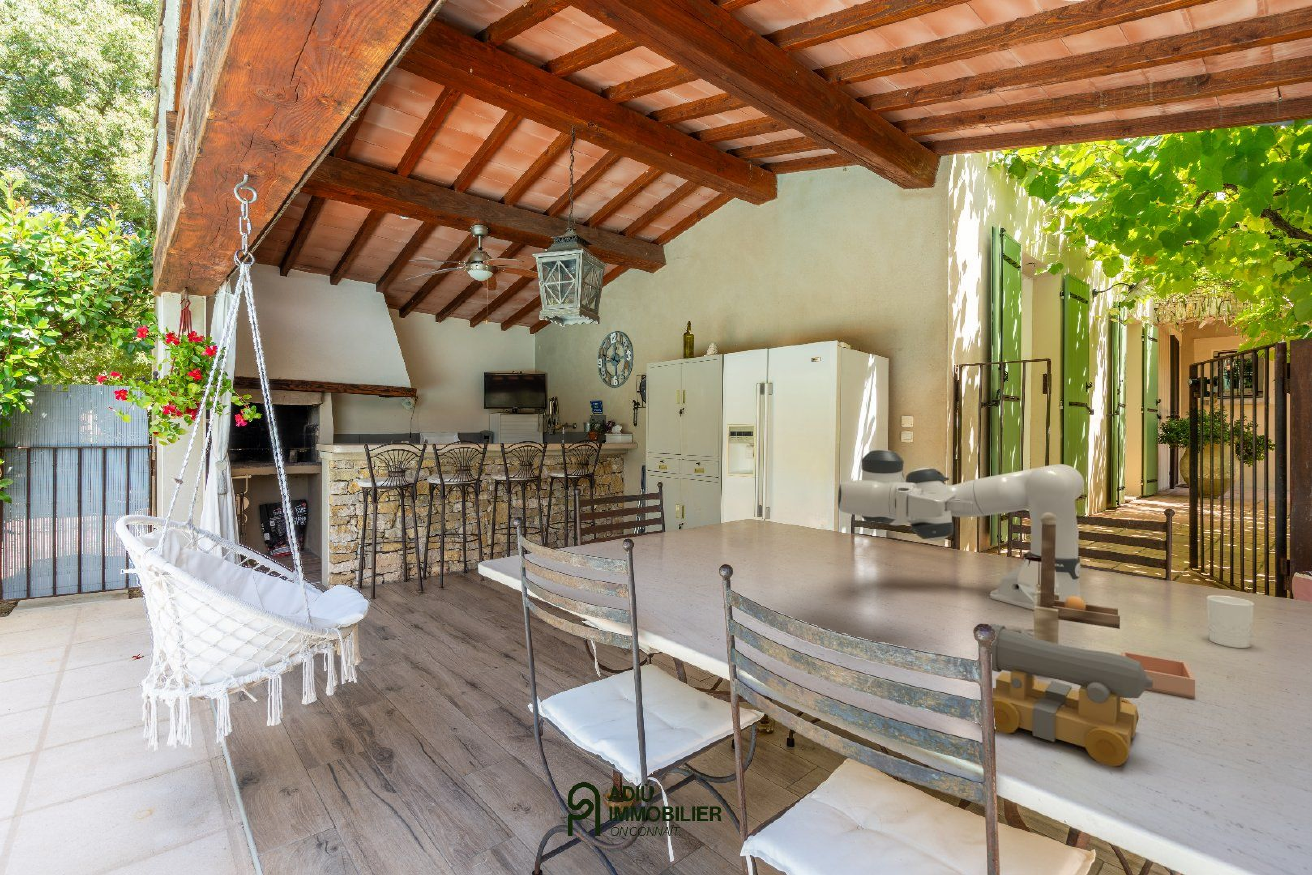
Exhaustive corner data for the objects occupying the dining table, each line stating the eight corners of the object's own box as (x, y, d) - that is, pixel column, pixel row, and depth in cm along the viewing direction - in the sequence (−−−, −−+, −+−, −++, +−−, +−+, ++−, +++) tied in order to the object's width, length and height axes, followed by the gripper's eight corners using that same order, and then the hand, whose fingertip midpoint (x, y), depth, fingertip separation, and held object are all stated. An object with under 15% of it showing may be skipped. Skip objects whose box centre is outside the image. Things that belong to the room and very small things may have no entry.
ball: (1061, 613, 126) (1061, 596, 126) (1068, 610, 128) (1068, 593, 128) (1081, 617, 123) (1082, 600, 123) (1088, 614, 125) (1088, 597, 125)
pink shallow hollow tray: (1124, 685, 117) (1124, 667, 117) (1120, 668, 126) (1121, 651, 126) (1194, 698, 112) (1195, 679, 112) (1185, 679, 120) (1186, 662, 120)
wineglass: (1054, 632, 147) (1055, 557, 147) (1060, 643, 140) (1061, 564, 140) (1014, 627, 151) (1016, 554, 150) (1018, 637, 143) (1020, 561, 143)
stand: (1018, 670, 124) (1019, 606, 124) (1023, 645, 138) (1024, 588, 138) (1072, 680, 119) (1073, 614, 119) (1071, 654, 133) (1073, 594, 133)
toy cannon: (1145, 779, 86) (1148, 673, 86) (974, 725, 101) (976, 635, 101) (1155, 736, 98) (1157, 643, 98) (1001, 694, 113) (1002, 613, 113)
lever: (1037, 620, 124) (1039, 515, 124) (1039, 606, 134) (1041, 508, 134) (1120, 633, 117) (1123, 521, 117) (1116, 618, 127) (1119, 514, 126)
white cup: (1262, 650, 136) (1263, 606, 136) (1220, 647, 138) (1222, 603, 138) (1236, 638, 144) (1237, 596, 144) (1197, 636, 146) (1198, 594, 145)
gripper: (915, 509, 152) (978, 514, 145) (896, 519, 135) (965, 526, 128) (916, 484, 152) (978, 488, 145) (896, 491, 135) (966, 495, 128)
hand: (972, 506), depth 136 cm, fingers closed
